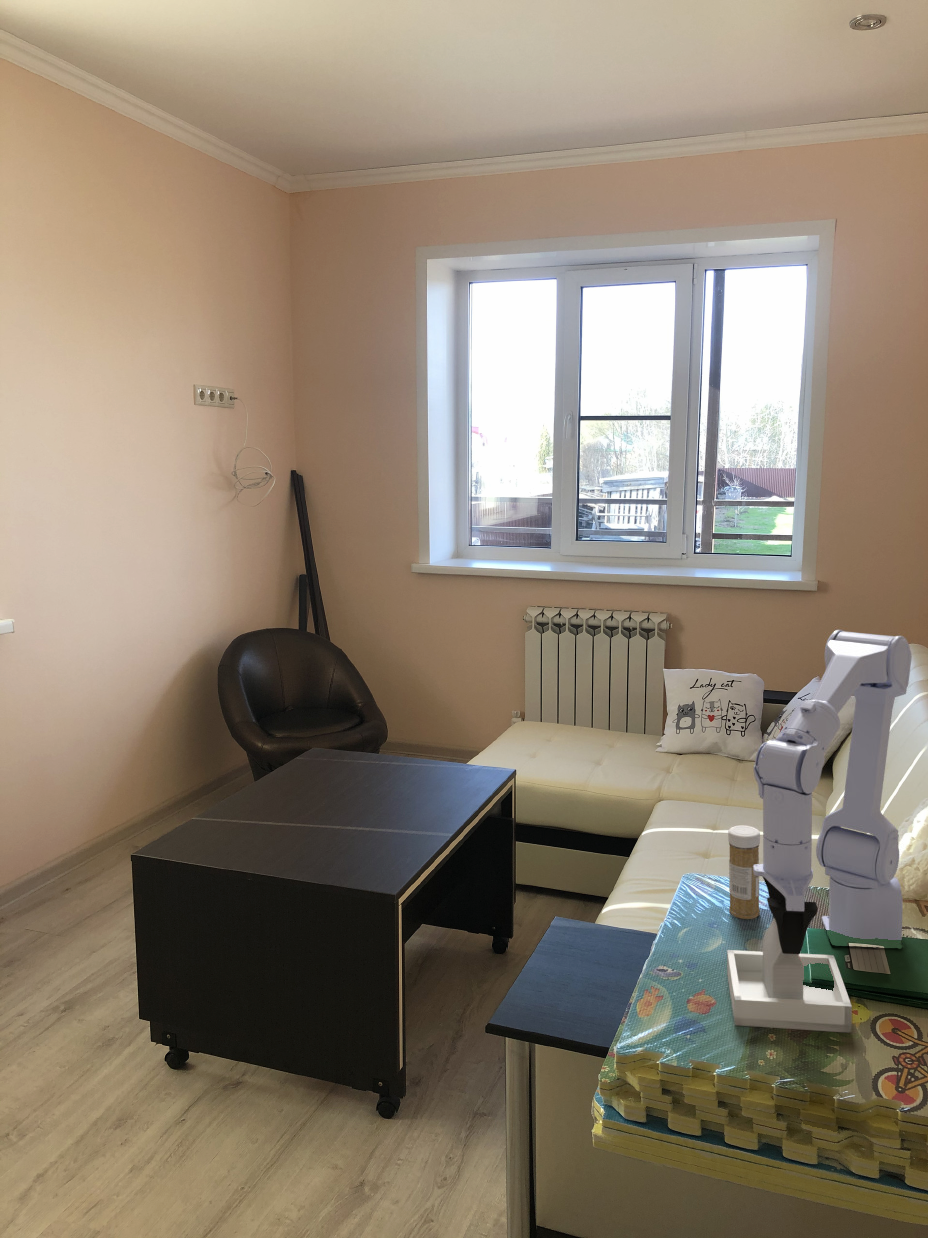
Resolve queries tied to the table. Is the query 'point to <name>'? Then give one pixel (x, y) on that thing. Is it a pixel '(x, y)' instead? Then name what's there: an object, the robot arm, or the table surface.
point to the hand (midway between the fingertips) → (786, 936)
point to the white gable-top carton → (781, 968)
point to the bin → (808, 1014)
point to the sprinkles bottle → (743, 871)
